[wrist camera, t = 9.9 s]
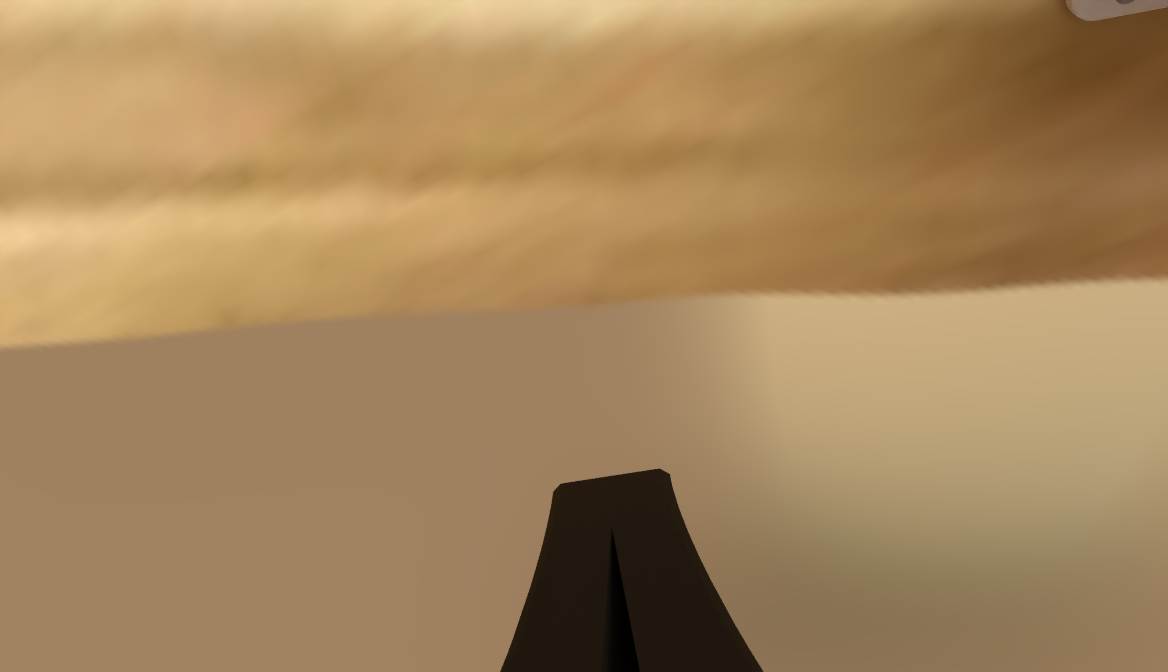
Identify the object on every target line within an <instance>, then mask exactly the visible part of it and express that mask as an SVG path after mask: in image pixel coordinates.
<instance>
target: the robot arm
mask: <svg viewBox="0 0 1168 672" xmlns="http://www.w3.org/2000/svg"><path fill="white" fill-rule="evenodd" d="M1066 5H1067V7H1068V8H1069V10H1070V11H1071V12H1072V13H1073V14H1074V15H1076V16H1077V17H1079V18H1081V19H1083V20H1085V21H1098V20H1103V19H1108V18H1114V17H1119V16H1124V15H1130V14H1135V13H1140V12H1146V11H1151V10H1156V9H1161V8H1167V7H1168V0H1066ZM500 672H763V670H762V669H761V667H760V666H759V664H758V662H757V661H756V659H755V657H754V656H753V654H752V653H751V651H750V649H749V648H748V646H747V645H746V643H745V641H744V639H743V638H742V636H741V634H740V633H739V631H738V629H737V627H736V626H735V624H734V622H733V620H732V618H731V617H730V615H729V613H728V611H727V609H726V607H725V606H724V604H723V602H722V600H721V598H720V596H719V594H718V593H717V591H716V589H715V587H714V585H713V583H712V582H711V580H710V578H709V576H708V574H707V572H706V570H705V568H704V566H703V564H702V562H701V560H700V557H699V555H698V553H697V551H696V548H695V546H694V544H693V542H692V540H691V537H690V535H689V533H688V530H687V528H686V525H685V523H684V520H683V518H682V515H681V512H680V510H679V507H678V504H677V501H676V497H675V494H674V491H673V487H672V483H671V478H670V474H668V473H667V472H665V471H663V470H661V469H654V470H647V471H641V472H634V473H627V474H621V475H615V476H608V477H601V478H595V479H588V480H582V481H575V482H569V483H563V484H560V485H559V486H558V487H557V488H556V490H555V491H554V492H553V498H552V504H551V510H550V515H549V519H548V524H547V528H546V532H545V537H544V541H543V545H542V548H541V552H540V556H539V560H538V563H537V566H536V570H535V573H534V577H533V580H532V583H531V587H530V590H529V593H528V596H527V599H526V602H525V605H524V608H523V610H522V614H521V616H520V619H519V622H518V626H517V628H516V631H515V634H514V638H513V640H512V643H511V646H510V648H509V651H508V654H507V656H506V659H505V661H504V664H503V666H502V669H501V671H500Z"/></svg>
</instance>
